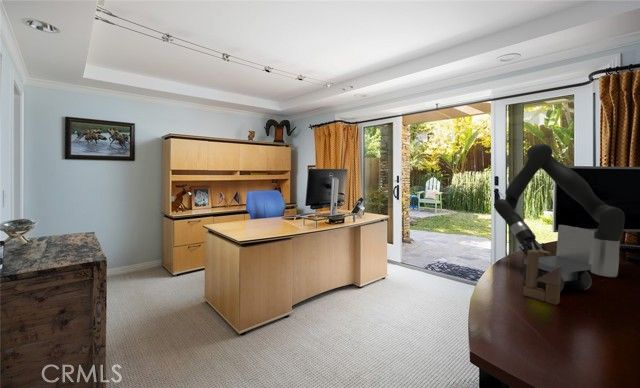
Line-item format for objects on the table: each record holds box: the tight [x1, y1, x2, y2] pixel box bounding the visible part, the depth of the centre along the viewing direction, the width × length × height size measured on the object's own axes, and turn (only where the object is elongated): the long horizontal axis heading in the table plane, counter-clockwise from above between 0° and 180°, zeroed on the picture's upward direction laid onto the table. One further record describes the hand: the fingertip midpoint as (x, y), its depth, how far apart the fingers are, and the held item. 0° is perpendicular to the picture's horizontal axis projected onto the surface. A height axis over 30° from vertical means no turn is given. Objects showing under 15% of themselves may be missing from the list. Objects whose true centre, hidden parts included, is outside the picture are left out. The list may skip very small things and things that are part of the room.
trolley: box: [522, 224, 595, 293], centre depth 126 cm, size 20×16×25 cm
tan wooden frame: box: [522, 250, 562, 306], centre depth 114 cm, size 4×11×18 cm, turn 36°
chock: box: [536, 250, 552, 257], centre depth 140 cm, size 4×5×10 cm
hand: (544, 263), depth 139 cm, fingers closed on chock, 4 cm apart
